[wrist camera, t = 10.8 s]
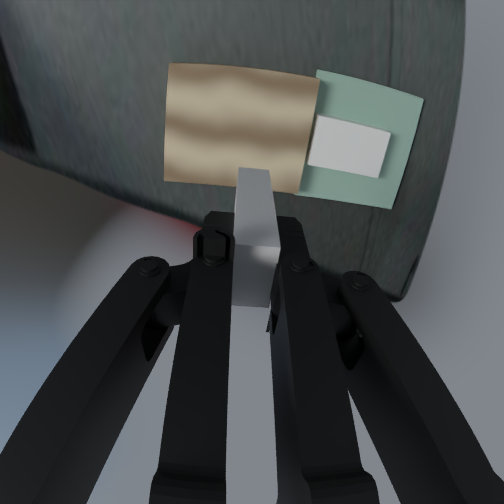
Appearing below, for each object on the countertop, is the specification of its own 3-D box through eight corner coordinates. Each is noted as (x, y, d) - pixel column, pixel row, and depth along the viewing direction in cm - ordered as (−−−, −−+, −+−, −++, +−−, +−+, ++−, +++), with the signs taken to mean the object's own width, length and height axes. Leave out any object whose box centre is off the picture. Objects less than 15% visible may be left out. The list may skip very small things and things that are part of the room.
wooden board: (174, 62, 30) (169, 63, 28) (315, 77, 32) (320, 79, 30) (168, 173, 39) (163, 180, 36) (295, 185, 40) (297, 193, 38)
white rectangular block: (305, 159, 37) (308, 165, 36) (315, 112, 34) (318, 115, 32) (372, 172, 38) (377, 178, 36) (384, 128, 35) (390, 133, 33)
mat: (316, 69, 31) (318, 69, 31) (421, 98, 32) (423, 99, 32) (293, 192, 40) (294, 194, 40) (389, 207, 42) (391, 209, 41)
